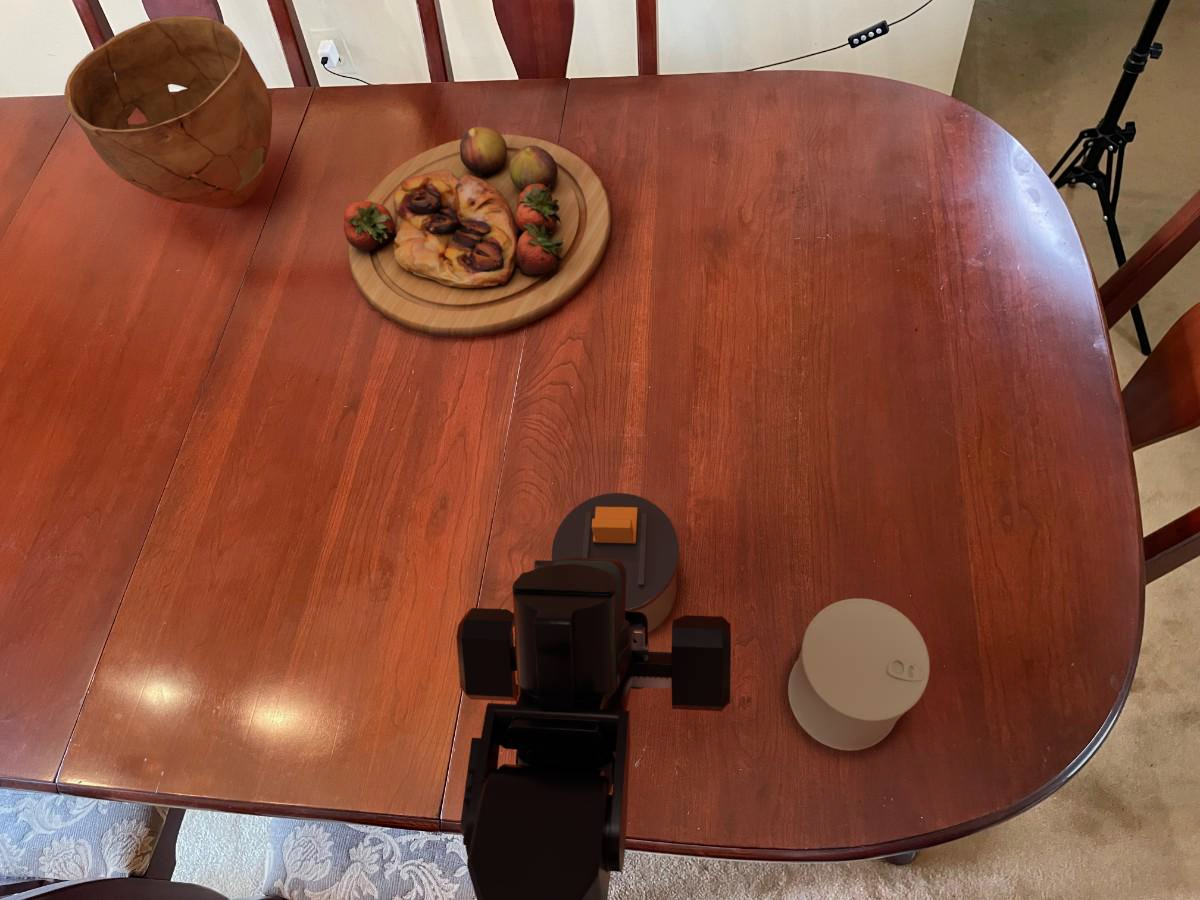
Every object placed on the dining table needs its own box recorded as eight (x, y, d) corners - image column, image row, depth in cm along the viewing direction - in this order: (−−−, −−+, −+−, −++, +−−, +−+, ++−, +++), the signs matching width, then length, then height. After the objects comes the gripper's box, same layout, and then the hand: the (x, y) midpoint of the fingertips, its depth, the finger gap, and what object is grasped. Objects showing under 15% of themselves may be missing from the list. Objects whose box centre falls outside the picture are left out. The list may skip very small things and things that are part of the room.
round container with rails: (680, 645, 76) (677, 611, 68) (561, 641, 77) (544, 607, 69) (682, 534, 81) (680, 490, 73) (571, 532, 82) (556, 488, 74)
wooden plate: (318, 334, 98) (288, 287, 91) (393, 143, 113) (372, 90, 106) (589, 352, 93) (579, 304, 86) (629, 148, 108) (624, 93, 101)
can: (886, 767, 69) (918, 739, 59) (775, 728, 71) (787, 694, 61) (909, 661, 73) (943, 617, 63) (803, 627, 75) (818, 579, 65)
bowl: (207, 138, 118) (122, 2, 101) (337, 154, 113) (271, 14, 96) (130, 249, 109) (21, 121, 91) (268, 271, 104) (181, 140, 87)
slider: (635, 543, 71) (633, 528, 68) (593, 542, 72) (589, 527, 69) (637, 509, 73) (635, 492, 70) (596, 508, 73) (591, 491, 70)
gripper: (734, 602, 48) (729, 511, 63) (420, 592, 51) (486, 507, 66) (731, 771, 51) (727, 646, 66) (434, 754, 54) (494, 637, 69)
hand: (608, 606), depth 67 cm, fingers closed
